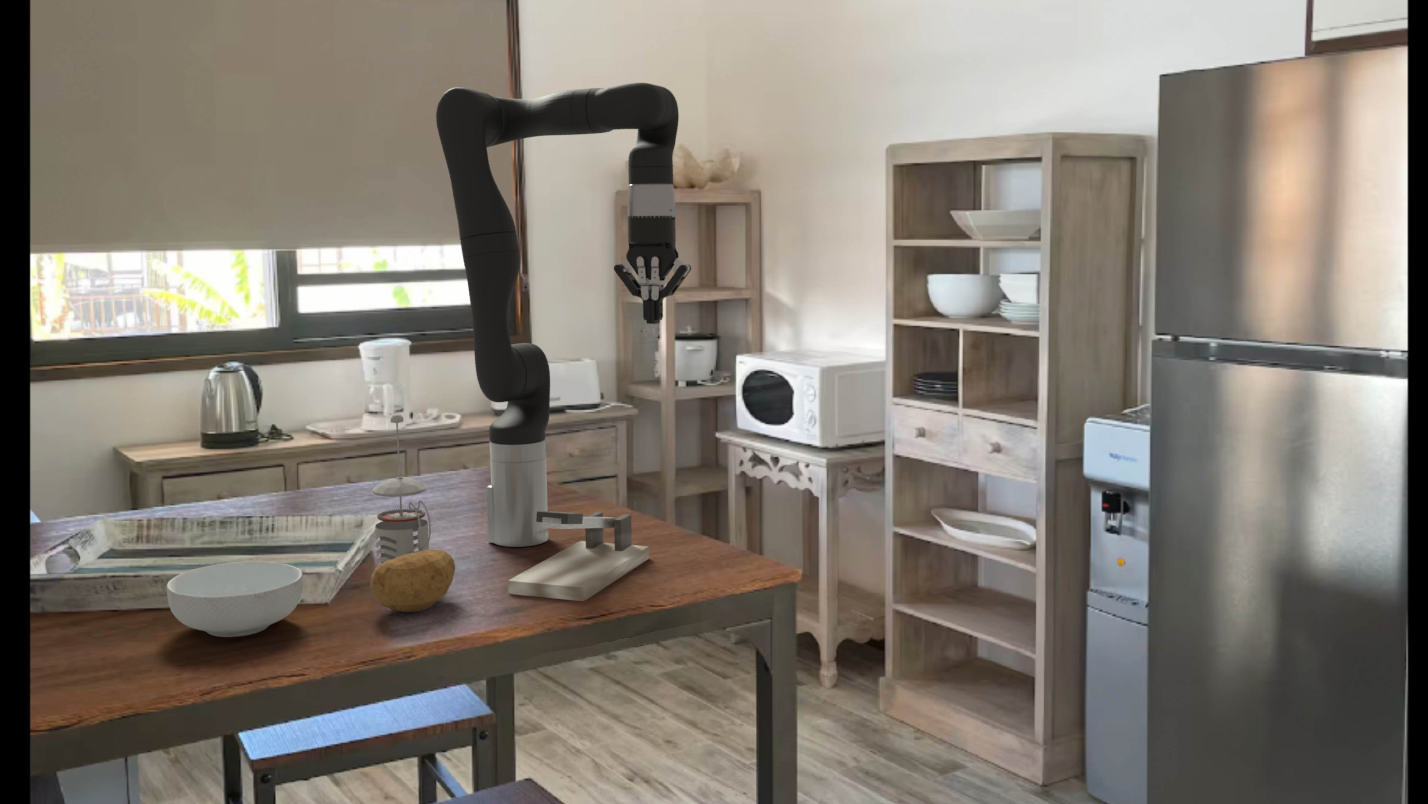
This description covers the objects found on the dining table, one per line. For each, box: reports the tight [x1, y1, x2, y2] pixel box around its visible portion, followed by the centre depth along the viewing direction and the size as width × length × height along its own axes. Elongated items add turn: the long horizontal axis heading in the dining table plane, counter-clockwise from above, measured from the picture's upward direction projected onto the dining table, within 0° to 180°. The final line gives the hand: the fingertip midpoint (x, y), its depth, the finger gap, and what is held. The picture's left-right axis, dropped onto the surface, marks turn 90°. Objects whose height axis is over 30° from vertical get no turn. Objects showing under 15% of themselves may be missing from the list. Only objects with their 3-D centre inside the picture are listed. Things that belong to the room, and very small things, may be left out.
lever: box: [536, 511, 617, 530], centre depth 194 cm, size 5×21×2 cm, turn 160°
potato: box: [369, 548, 456, 613], centre depth 179 cm, size 10×14×8 cm
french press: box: [371, 414, 432, 565], centre depth 193 cm, size 10×12×25 cm
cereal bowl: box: [166, 560, 303, 638], centre depth 171 cm, size 17×17×7 cm
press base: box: [507, 511, 650, 602], centre depth 194 cm, size 12×24×7 cm, turn 160°
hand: (653, 323), depth 205 cm, fingers closed
